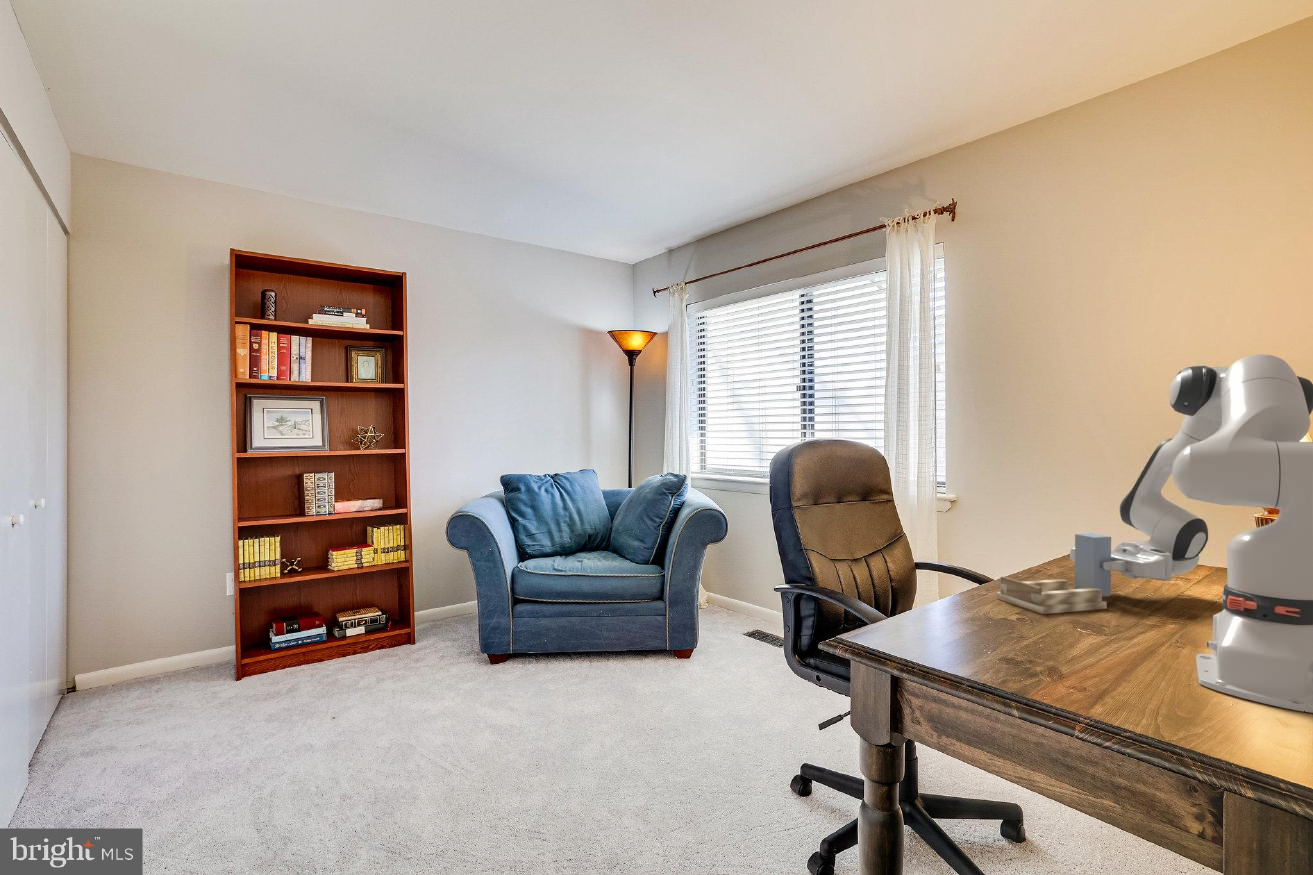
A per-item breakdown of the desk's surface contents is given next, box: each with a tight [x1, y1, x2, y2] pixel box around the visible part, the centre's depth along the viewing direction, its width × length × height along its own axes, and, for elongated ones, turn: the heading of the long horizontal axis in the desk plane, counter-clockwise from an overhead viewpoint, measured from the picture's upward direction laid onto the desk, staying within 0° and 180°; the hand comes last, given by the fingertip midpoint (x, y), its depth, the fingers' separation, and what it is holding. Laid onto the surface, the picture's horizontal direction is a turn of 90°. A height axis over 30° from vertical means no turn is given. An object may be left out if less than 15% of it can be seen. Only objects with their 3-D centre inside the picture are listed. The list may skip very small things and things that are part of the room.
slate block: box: [1074, 532, 1112, 598], centre depth 149 cm, size 5×5×14 cm
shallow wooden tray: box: [995, 576, 1108, 615], centre depth 145 cm, size 18×13×6 cm
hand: (1089, 562), depth 148 cm, fingers closed on slate block, 5 cm apart
